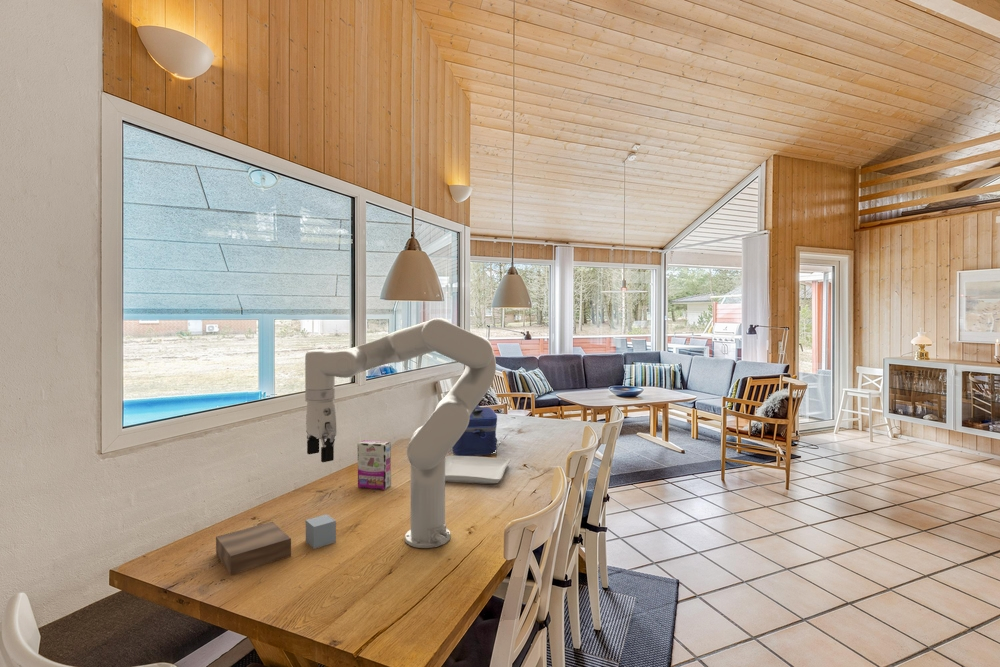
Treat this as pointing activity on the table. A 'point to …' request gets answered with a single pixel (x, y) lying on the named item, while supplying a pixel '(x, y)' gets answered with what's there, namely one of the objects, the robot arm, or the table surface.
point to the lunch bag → (478, 434)
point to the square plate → (474, 469)
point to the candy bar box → (374, 465)
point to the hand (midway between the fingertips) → (320, 457)
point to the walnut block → (252, 547)
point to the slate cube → (320, 531)
